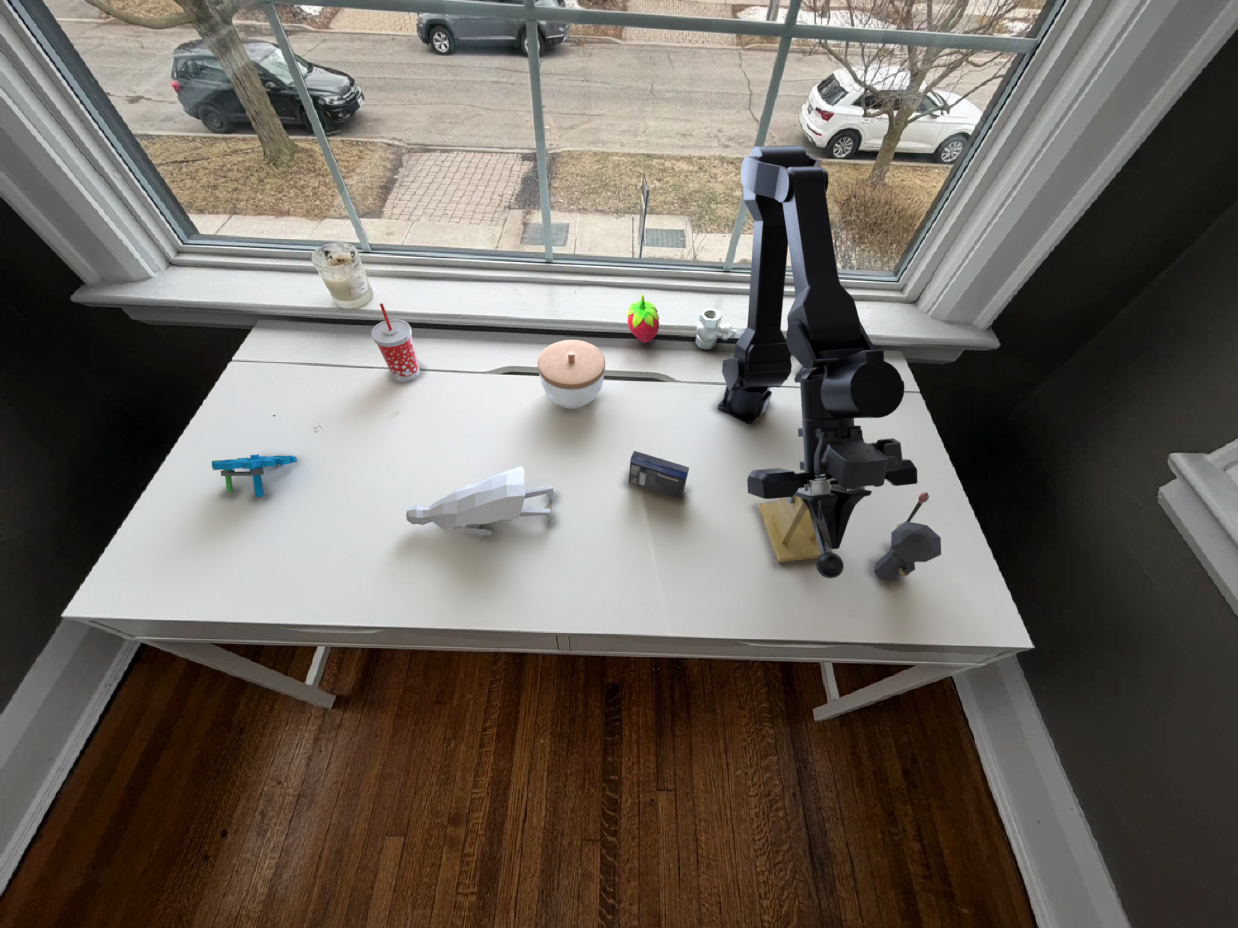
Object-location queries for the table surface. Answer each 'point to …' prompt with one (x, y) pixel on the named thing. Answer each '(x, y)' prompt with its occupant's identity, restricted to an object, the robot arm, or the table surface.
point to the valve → (713, 329)
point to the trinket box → (571, 372)
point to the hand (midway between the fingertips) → (833, 548)
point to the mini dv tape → (657, 474)
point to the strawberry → (643, 320)
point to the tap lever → (826, 556)
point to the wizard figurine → (909, 547)
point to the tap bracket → (790, 529)
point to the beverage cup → (396, 347)
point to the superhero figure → (482, 504)
